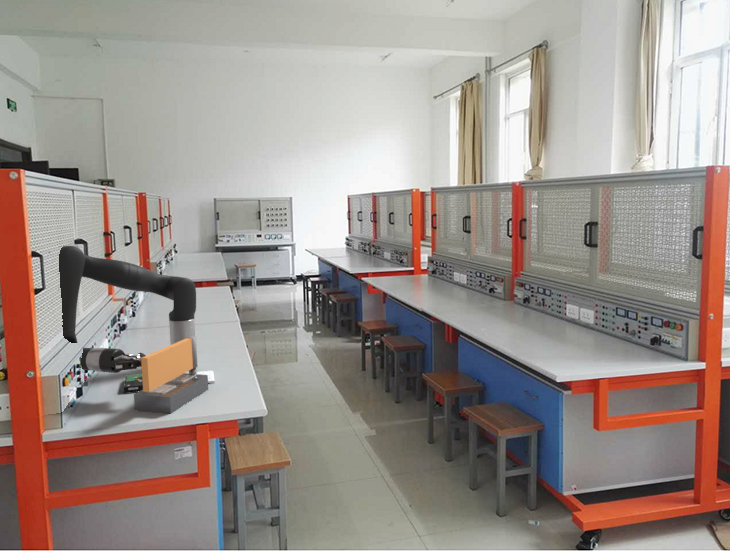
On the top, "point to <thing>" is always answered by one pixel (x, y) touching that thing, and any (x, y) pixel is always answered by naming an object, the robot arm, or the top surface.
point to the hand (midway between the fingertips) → (154, 363)
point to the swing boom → (168, 363)
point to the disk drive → (133, 383)
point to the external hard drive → (210, 375)
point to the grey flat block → (171, 394)
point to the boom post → (192, 371)
